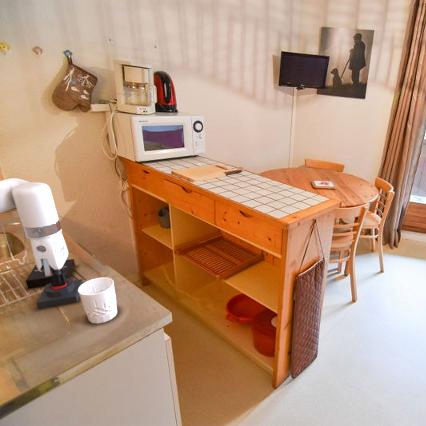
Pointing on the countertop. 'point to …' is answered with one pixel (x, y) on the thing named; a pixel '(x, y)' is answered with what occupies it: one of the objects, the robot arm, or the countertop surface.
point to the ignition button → (59, 287)
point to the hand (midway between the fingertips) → (59, 284)
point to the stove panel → (41, 280)
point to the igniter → (60, 294)
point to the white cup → (98, 299)
